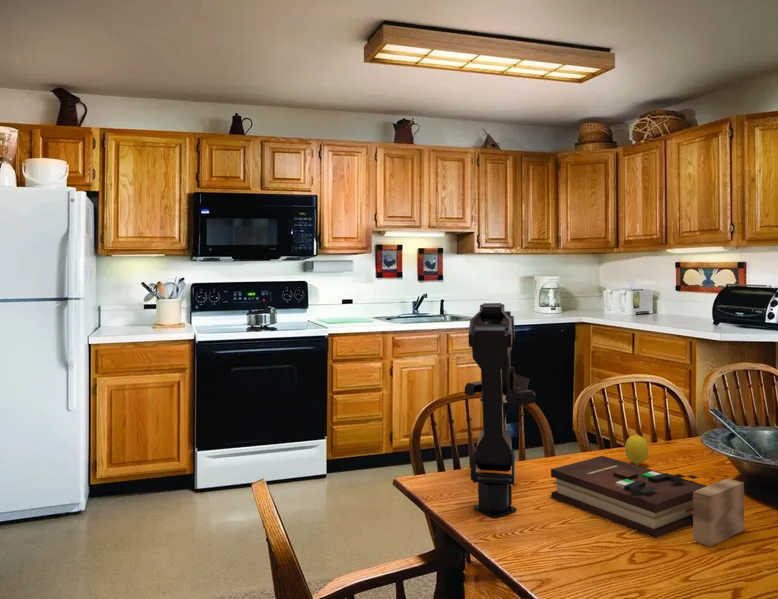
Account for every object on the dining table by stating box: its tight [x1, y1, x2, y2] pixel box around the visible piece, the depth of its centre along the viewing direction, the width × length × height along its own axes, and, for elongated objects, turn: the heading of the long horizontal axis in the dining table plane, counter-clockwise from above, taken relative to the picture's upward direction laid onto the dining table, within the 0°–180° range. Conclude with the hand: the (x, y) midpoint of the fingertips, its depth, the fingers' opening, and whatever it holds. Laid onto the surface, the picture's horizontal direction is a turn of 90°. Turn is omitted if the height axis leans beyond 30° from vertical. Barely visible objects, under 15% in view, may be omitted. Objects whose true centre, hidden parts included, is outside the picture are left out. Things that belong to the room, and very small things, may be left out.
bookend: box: [692, 477, 745, 548], centre depth 111 cm, size 12×3×9 cm, turn 124°
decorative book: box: [550, 455, 708, 539], centre depth 125 cm, size 19×8×30 cm
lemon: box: [624, 433, 650, 466], centre depth 153 cm, size 6×6×8 cm
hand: (499, 428), depth 145 cm, fingers closed
